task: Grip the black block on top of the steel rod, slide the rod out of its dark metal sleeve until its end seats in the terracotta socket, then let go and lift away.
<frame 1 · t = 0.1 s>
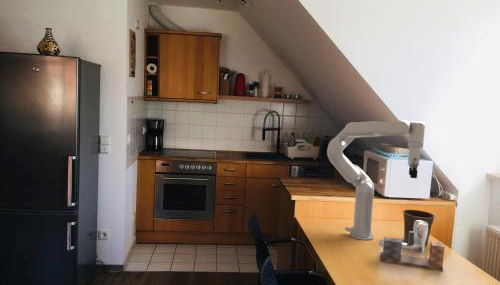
hand: (412, 176, 217), 37 cm above the table, tool pointing down, fingers open, 9 cm apart
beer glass: (418, 250, 210), on the table
plant pot: (416, 242, 223), on the table
tube rig: (408, 262, 193), on the table
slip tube: (400, 239, 193), point 11 cm above the table, slide at 0.0 cm
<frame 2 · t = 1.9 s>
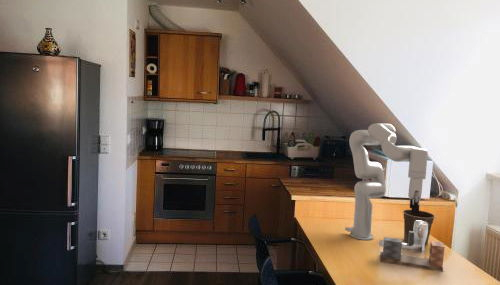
hand: (414, 210, 190), 25 cm above the table, tool pointing down, fingers open, 9 cm apart
nothing on the table moved.
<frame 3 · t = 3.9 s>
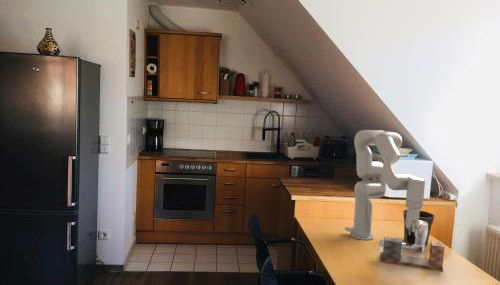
hand: (410, 241, 192), 10 cm above the table, tool pointing down, fingers closed on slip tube, 3 cm apart
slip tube: (400, 239, 193), point 11 cm above the table, slide at 0.0 cm, touching gripper
everything else where it was.
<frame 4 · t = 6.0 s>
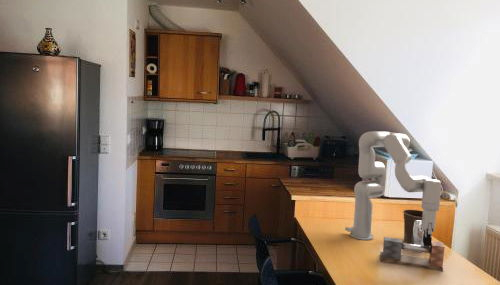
hand: (426, 243, 190), 10 cm above the table, tool pointing down, fingers closed on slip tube, 3 cm apart
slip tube: (416, 241, 191), point 11 cm above the table, slide at 7.0 cm, touching gripper
everything else where it was.
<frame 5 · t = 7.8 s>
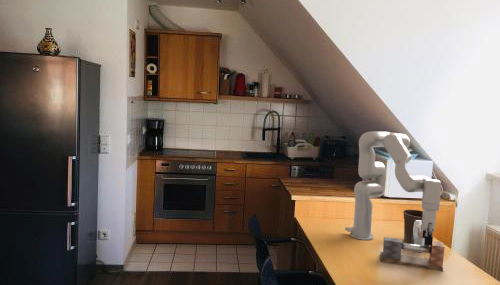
hand: (427, 241, 189), 11 cm above the table, tool pointing down, fingers open, 9 cm apart
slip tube: (416, 241, 191), point 10 cm above the table, slide at 7.0 cm
everything else where it was.
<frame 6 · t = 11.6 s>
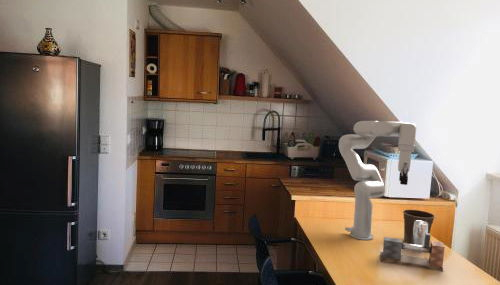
hand: (403, 182, 200), 36 cm above the table, tool pointing down, fingers open, 9 cm apart
nothing on the table moved.
at the end: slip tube slide at 7.0 cm; the gripper is holding nothing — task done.
